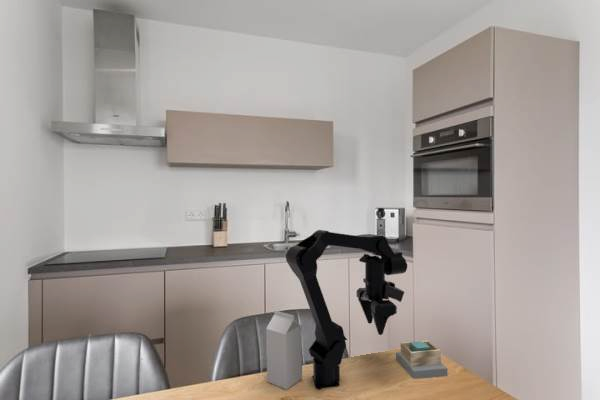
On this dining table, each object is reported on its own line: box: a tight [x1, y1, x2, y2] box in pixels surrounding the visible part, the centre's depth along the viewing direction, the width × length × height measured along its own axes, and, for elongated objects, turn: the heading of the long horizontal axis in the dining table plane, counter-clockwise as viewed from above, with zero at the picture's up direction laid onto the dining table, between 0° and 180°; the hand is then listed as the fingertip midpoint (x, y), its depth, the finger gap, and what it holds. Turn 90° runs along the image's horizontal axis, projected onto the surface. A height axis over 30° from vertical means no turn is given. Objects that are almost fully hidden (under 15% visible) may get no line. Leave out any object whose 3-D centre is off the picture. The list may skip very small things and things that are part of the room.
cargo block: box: [410, 341, 430, 352], centre depth 102 cm, size 4×4×4 cm
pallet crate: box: [400, 340, 442, 367], centre depth 102 cm, size 9×7×4 cm
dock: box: [395, 351, 448, 380], centre depth 102 cm, size 10×12×2 cm
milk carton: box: [265, 310, 303, 390], centre depth 96 cm, size 7×7×19 cm
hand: (375, 328), depth 103 cm, fingers open, 9 cm apart
